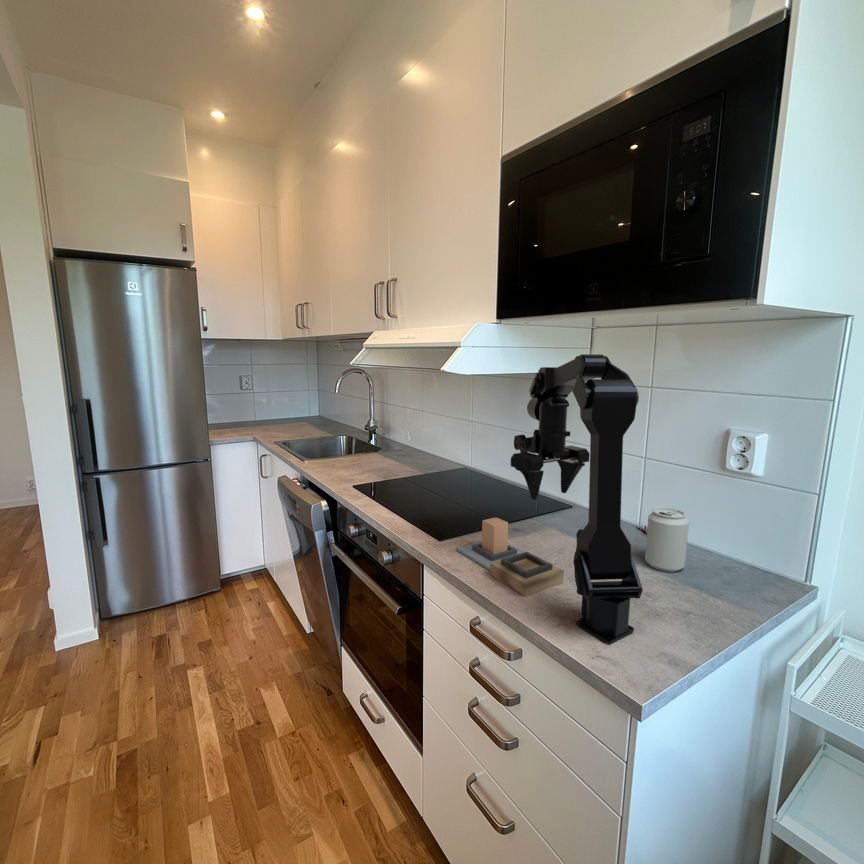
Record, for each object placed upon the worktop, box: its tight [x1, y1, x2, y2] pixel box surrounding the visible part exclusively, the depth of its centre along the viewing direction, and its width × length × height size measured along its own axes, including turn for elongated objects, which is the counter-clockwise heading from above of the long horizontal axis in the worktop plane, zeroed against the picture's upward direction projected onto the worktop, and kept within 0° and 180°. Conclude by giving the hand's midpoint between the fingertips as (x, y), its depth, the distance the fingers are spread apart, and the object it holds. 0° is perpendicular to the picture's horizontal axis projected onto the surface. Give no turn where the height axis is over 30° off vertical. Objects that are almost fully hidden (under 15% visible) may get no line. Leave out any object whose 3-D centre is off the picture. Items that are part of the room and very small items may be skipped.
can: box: [644, 506, 690, 573], centre depth 95 cm, size 8×8×12 cm
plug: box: [481, 517, 509, 555], centre depth 100 cm, size 4×4×7 cm
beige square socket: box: [489, 551, 565, 597], centre depth 89 cm, size 10×10×4 cm
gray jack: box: [456, 541, 527, 572], centre depth 100 cm, size 12×12×2 cm
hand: (549, 495), depth 100 cm, fingers open, 9 cm apart
